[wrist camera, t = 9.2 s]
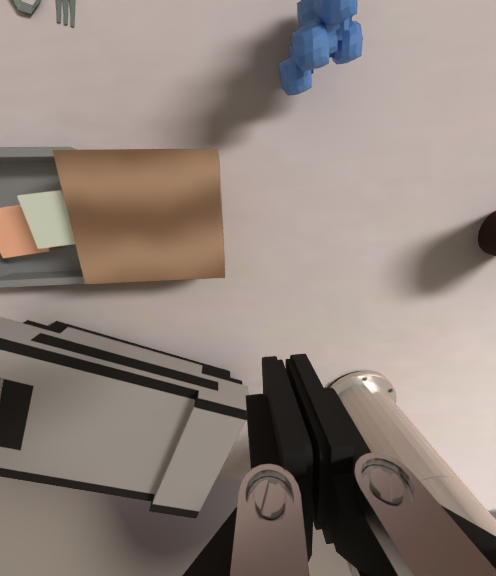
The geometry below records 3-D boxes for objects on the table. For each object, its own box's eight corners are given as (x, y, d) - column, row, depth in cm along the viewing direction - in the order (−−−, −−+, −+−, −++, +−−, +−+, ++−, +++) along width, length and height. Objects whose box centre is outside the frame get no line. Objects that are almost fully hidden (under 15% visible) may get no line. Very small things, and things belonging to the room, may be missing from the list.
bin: (114, 273, 32) (99, 282, 28) (11, 278, 31) (-18, 288, 27) (90, 154, 28) (69, 146, 24) (-31, 155, 27) (-73, 147, 23)
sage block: (79, 243, 25) (38, 248, 25) (102, 237, 30) (67, 241, 30) (61, 190, 23) (16, 195, 23) (88, 192, 28) (51, 196, 28)
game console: (17, 302, 32) (-47, 334, 25) (245, 369, 39) (250, 411, 31) (-2, 422, 38) (-60, 478, 30) (200, 463, 44) (195, 518, 37)
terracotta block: (2, 258, 27) (20, 253, 30) (49, 251, 27) (63, 247, 30) (-21, 210, 26) (0, 210, 28) (30, 203, 26) (46, 203, 28)
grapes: (305, 138, 29) (356, 97, 18) (254, 104, 28) (275, 35, 16) (363, 28, 26) (469, -104, 15) (311, -18, 25) (384, -203, 13)
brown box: (224, 262, 33) (224, 277, 26) (113, 267, 32) (85, 284, 25) (219, 161, 29) (217, 148, 22) (92, 162, 28) (52, 150, 21)
